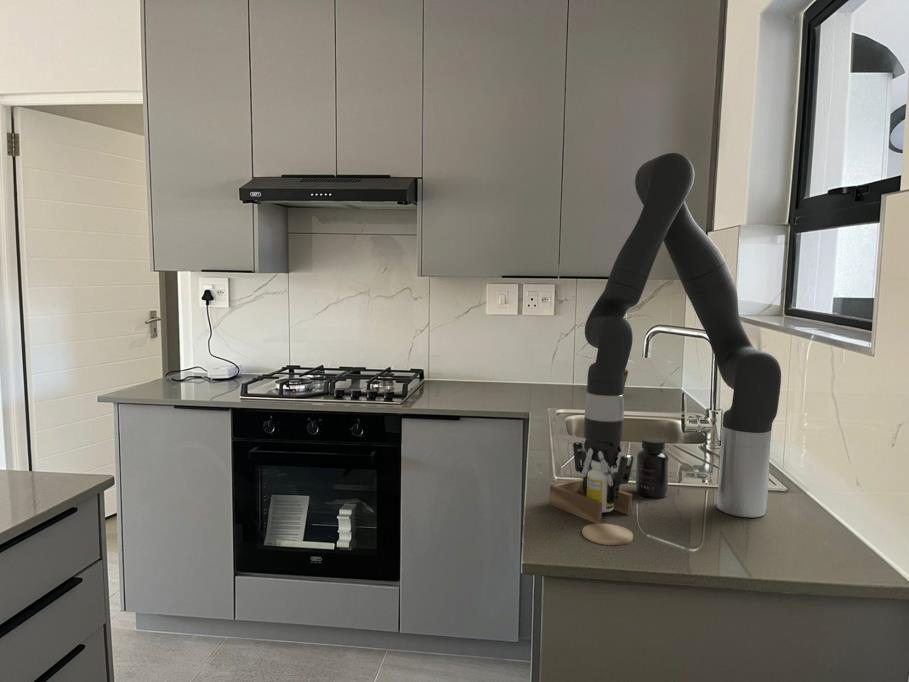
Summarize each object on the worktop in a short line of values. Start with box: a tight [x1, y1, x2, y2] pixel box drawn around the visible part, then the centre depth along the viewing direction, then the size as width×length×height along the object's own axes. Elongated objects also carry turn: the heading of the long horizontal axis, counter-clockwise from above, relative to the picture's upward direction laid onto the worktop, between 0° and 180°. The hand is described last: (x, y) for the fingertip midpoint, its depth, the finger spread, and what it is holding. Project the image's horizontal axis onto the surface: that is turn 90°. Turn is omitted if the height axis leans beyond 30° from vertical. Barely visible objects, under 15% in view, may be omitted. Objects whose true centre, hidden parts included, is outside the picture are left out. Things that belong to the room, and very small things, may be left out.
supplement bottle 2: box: [634, 437, 670, 499], centre depth 154 cm, size 7×7×12 cm
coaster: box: [582, 523, 634, 546], centre depth 129 cm, size 9×9×1 cm
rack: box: [548, 477, 633, 524], centre depth 143 cm, size 10×13×4 cm
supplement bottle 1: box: [587, 460, 614, 513], centre depth 141 cm, size 5×5×10 cm
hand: (600, 498), depth 141 cm, fingers closed on supplement bottle 1, 5 cm apart
